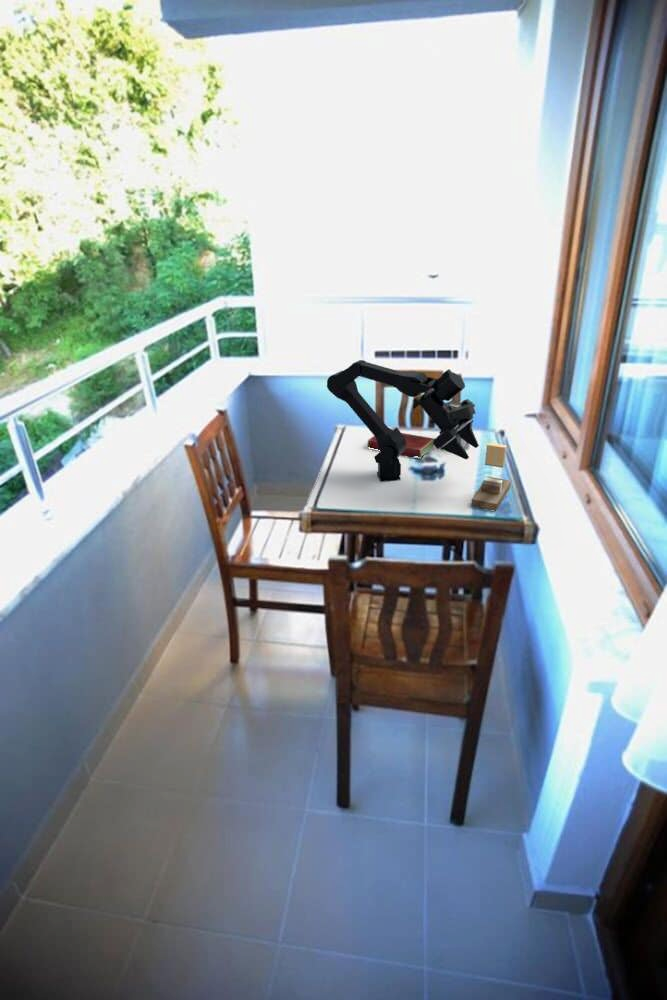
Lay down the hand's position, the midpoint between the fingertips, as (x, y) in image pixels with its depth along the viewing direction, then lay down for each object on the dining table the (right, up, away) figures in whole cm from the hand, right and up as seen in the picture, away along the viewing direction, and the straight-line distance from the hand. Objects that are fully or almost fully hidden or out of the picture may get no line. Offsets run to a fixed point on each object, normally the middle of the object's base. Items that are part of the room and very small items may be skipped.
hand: (472, 452), depth 143 cm
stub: (+6, -4, -2) cm, 7 cm away
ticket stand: (+6, -13, +3) cm, 14 cm away
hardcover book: (-15, +5, +39) cm, 42 cm away
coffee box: (+4, +5, +37) cm, 37 cm away
